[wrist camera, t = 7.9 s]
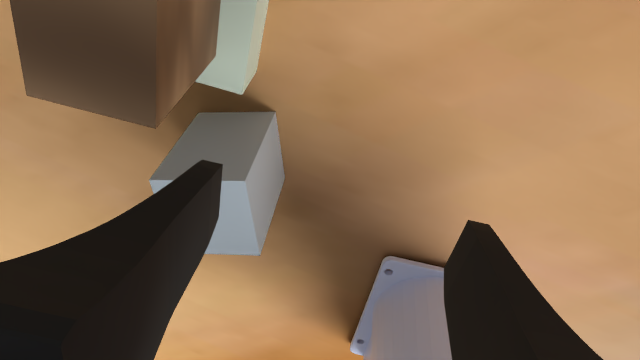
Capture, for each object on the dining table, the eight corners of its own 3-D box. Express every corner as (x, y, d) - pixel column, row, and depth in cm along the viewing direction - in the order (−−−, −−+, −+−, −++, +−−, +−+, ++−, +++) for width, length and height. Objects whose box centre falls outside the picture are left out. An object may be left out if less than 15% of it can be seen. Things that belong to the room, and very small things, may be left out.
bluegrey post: (285, 177, 25) (259, 255, 21) (214, 177, 26) (174, 252, 21) (275, 111, 23) (245, 181, 18) (198, 112, 24) (149, 180, 19)
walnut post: (215, 56, 19) (155, 128, 14) (119, 30, 19) (26, 95, 14) (225, -49, 17) (156, -4, 12) (115, -78, 17) (1, -45, 12)
